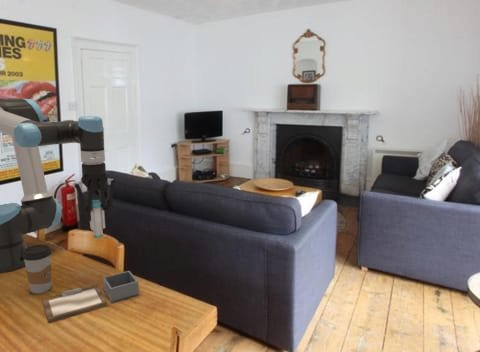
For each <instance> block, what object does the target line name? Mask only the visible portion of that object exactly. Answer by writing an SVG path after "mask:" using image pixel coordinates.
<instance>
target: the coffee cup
mask: <svg viewBox="0 0 480 352" xmlns="http://www.w3.org/2000/svg"><path fill="white" fill-rule="evenodd" d="M51 251H52V250H51V248H50V246H49V245H47V244H36V245H31V246H29V247H27V248H26V249H25V250H24V253H23V259H24V261H25V266H24V267H25V272H26V277H27V282H28V286H29V290H30V292H31V293H32V294H38V295H39V294H43V293H46V292H48V291H49V290H50V289H51V287H52V264H51V263H52V261H51V254H52V252H51Z"/></svg>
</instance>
